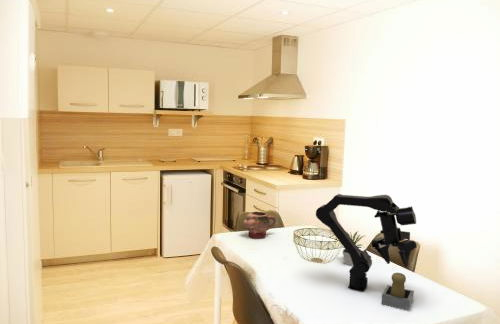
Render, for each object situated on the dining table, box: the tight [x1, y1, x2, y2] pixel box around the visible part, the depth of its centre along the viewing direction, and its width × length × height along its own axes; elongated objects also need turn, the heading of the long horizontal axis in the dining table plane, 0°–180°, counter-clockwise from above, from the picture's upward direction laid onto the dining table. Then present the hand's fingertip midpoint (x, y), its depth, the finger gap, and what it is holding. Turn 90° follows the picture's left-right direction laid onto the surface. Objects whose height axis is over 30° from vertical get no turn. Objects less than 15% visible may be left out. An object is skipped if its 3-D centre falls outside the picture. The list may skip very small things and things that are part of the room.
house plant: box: [341, 230, 365, 266], centre depth 200 cm, size 14×14×16 cm
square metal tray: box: [381, 284, 415, 312], centre depth 159 cm, size 10×10×4 cm
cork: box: [390, 272, 407, 298], centre depth 159 cm, size 6×6×11 cm
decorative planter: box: [243, 211, 277, 240], centre depth 240 cm, size 20×12×14 cm, turn 116°
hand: (397, 265), depth 164 cm, fingers open, 9 cm apart
